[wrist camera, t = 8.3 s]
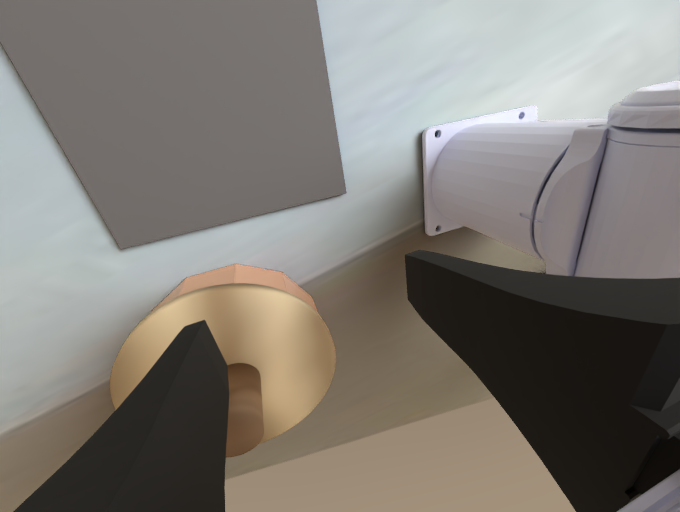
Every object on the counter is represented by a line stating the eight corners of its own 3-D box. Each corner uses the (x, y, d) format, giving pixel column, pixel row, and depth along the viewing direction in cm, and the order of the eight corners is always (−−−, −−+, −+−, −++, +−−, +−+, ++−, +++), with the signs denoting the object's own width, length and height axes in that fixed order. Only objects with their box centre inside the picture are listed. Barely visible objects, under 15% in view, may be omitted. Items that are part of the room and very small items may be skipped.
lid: (311, 256, 16) (332, 295, 12) (345, 397, 22) (367, 455, 18) (63, 328, 14) (-8, 405, 10) (175, 467, 19) (158, 550, 16)
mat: (297, -103, 13) (299, -109, 13) (344, 192, 19) (346, 193, 19) (-72, -93, 10) (-83, -100, 10) (123, 246, 17) (120, 249, 16)
